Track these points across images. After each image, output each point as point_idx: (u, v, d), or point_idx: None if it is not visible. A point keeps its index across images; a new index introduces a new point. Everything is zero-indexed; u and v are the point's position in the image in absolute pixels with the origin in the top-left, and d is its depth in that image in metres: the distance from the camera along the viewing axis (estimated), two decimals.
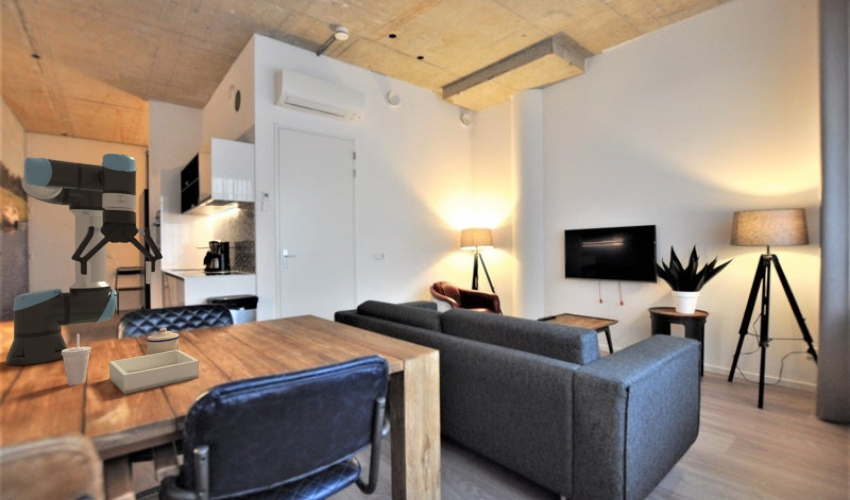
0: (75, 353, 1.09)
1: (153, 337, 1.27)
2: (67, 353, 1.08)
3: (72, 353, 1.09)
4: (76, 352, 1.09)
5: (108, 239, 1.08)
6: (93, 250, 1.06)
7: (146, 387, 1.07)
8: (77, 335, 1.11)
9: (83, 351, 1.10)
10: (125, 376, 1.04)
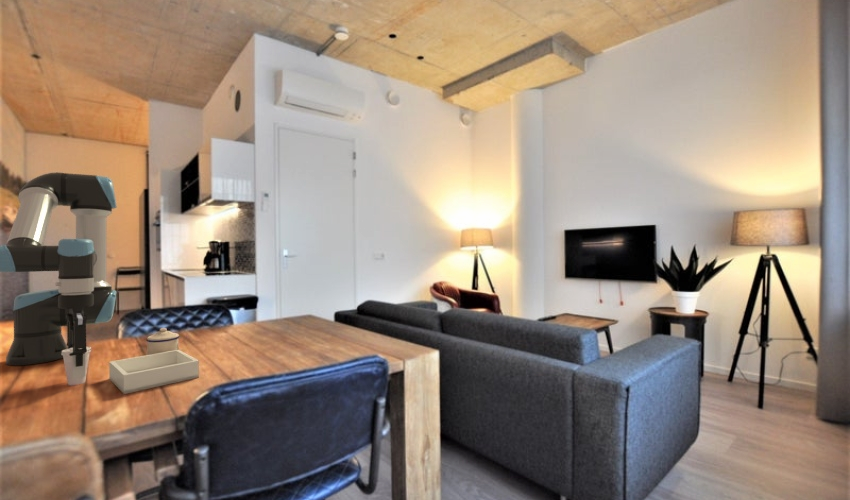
0: None
1: (153, 337, 1.27)
2: (67, 353, 1.08)
3: None
4: None
5: (67, 324, 1.11)
6: (69, 336, 1.13)
7: (146, 387, 1.07)
8: None
9: None
10: (125, 376, 1.04)
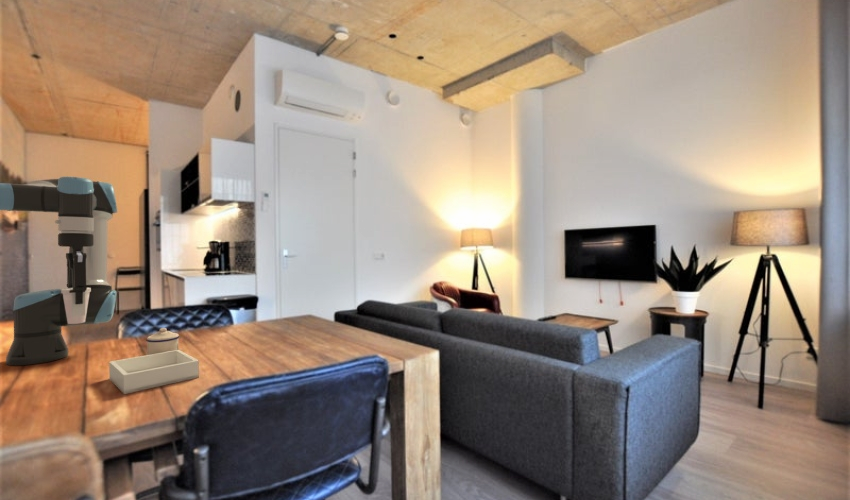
0: None
1: (153, 337, 1.27)
2: (67, 291, 1.08)
3: None
4: None
5: (67, 263, 1.11)
6: (68, 277, 1.13)
7: (146, 387, 1.07)
8: None
9: None
10: (125, 376, 1.04)
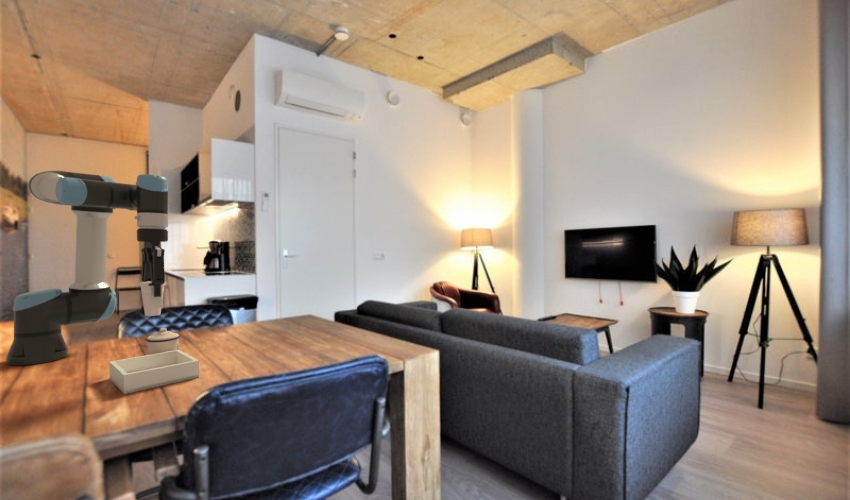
0: None
1: (153, 337, 1.27)
2: (145, 284, 1.13)
3: None
4: None
5: (144, 258, 1.16)
6: (144, 271, 1.17)
7: (146, 387, 1.07)
8: None
9: None
10: (125, 376, 1.04)
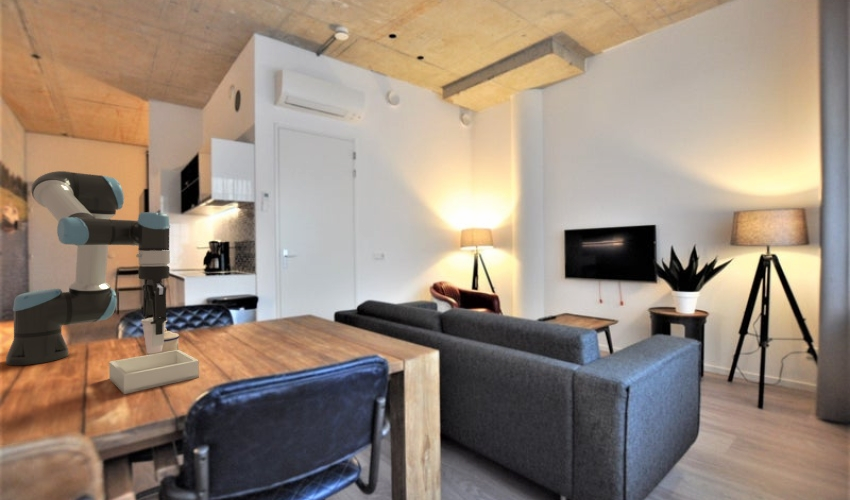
0: None
1: None
2: (147, 322, 1.13)
3: None
4: None
5: (145, 295, 1.16)
6: (146, 307, 1.17)
7: (146, 387, 1.07)
8: None
9: None
10: (125, 376, 1.04)
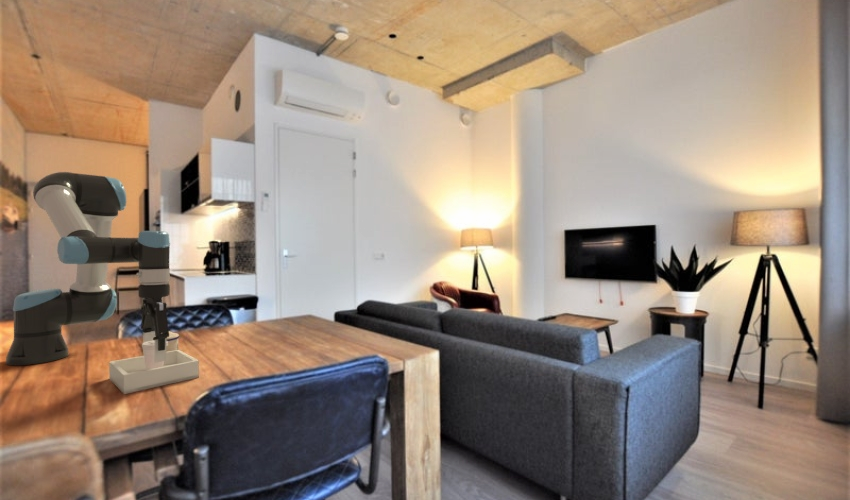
0: None
1: None
2: (148, 346, 1.13)
3: (153, 346, 1.13)
4: None
5: (145, 311, 1.16)
6: (144, 321, 1.19)
7: (146, 387, 1.07)
8: None
9: None
10: (125, 376, 1.04)
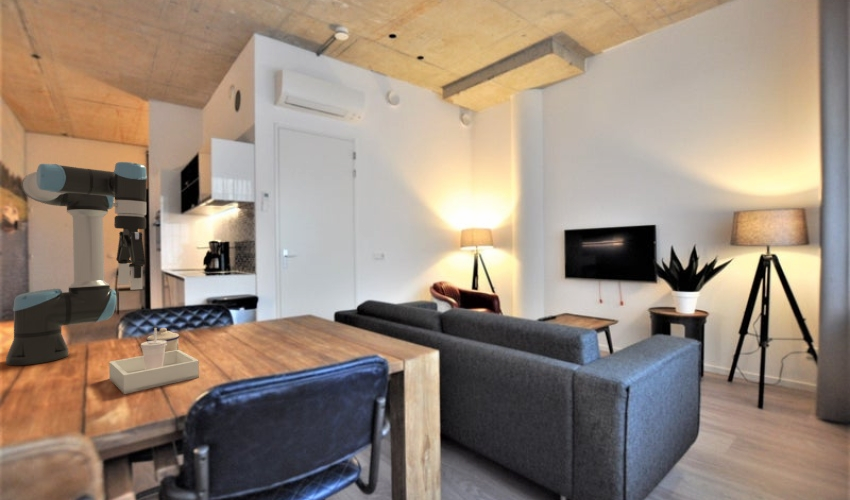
0: (154, 346, 1.14)
1: (153, 337, 1.27)
2: (147, 346, 1.13)
3: (151, 346, 1.13)
4: (155, 345, 1.14)
5: (120, 243, 1.17)
6: (120, 253, 1.20)
7: (146, 387, 1.07)
8: (155, 329, 1.16)
9: (161, 344, 1.15)
10: (125, 376, 1.04)
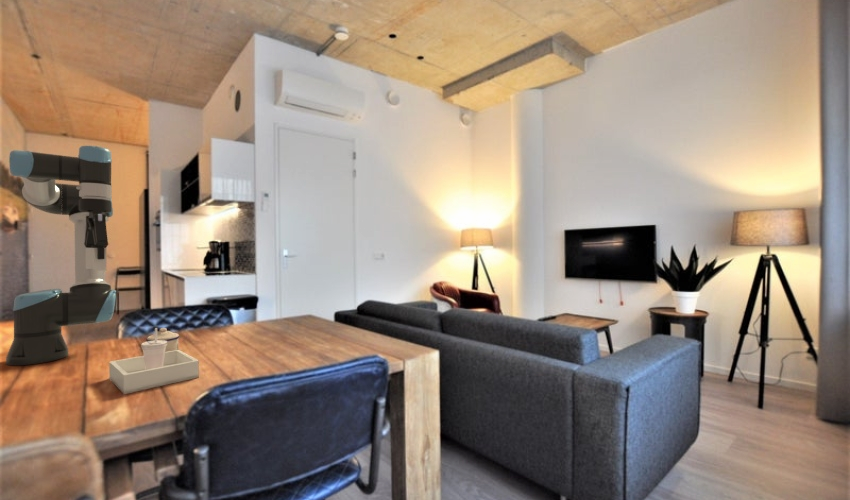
0: (154, 346, 1.14)
1: (153, 337, 1.27)
2: (147, 346, 1.13)
3: (152, 346, 1.13)
4: (155, 345, 1.14)
5: (86, 226, 1.19)
6: (87, 237, 1.21)
7: (146, 387, 1.07)
8: (155, 329, 1.16)
9: (161, 344, 1.15)
10: (125, 376, 1.04)
